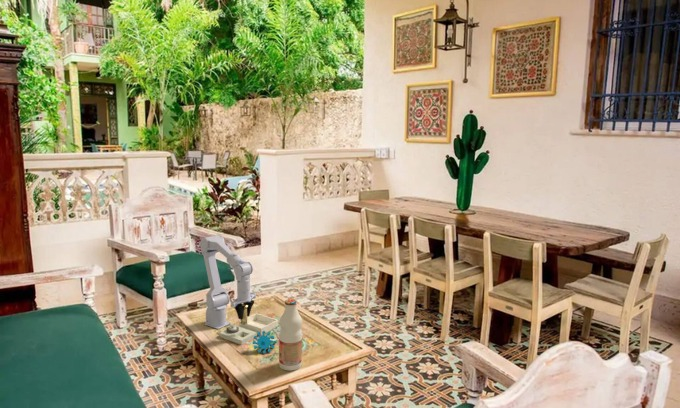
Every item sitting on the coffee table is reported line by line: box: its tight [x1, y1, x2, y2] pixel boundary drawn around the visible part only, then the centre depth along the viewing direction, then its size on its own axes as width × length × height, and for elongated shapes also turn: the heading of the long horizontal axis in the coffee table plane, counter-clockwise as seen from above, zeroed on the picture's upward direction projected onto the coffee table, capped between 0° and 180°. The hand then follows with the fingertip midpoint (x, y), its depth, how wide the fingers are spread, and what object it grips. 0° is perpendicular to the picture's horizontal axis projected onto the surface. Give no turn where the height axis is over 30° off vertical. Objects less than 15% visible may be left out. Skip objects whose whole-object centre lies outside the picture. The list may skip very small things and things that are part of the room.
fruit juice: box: [278, 298, 303, 371], centre depth 190 cm, size 9×9×28 cm
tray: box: [238, 313, 279, 336], centre depth 227 cm, size 14×12×4 cm
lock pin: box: [240, 303, 248, 325], centre depth 214 cm, size 4×4×9 cm
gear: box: [252, 331, 279, 355], centre depth 205 cm, size 11×6×10 cm
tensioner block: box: [218, 324, 258, 346], centre depth 216 cm, size 14×10×4 cm
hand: (243, 317), depth 214 cm, fingers closed on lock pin, 4 cm apart
